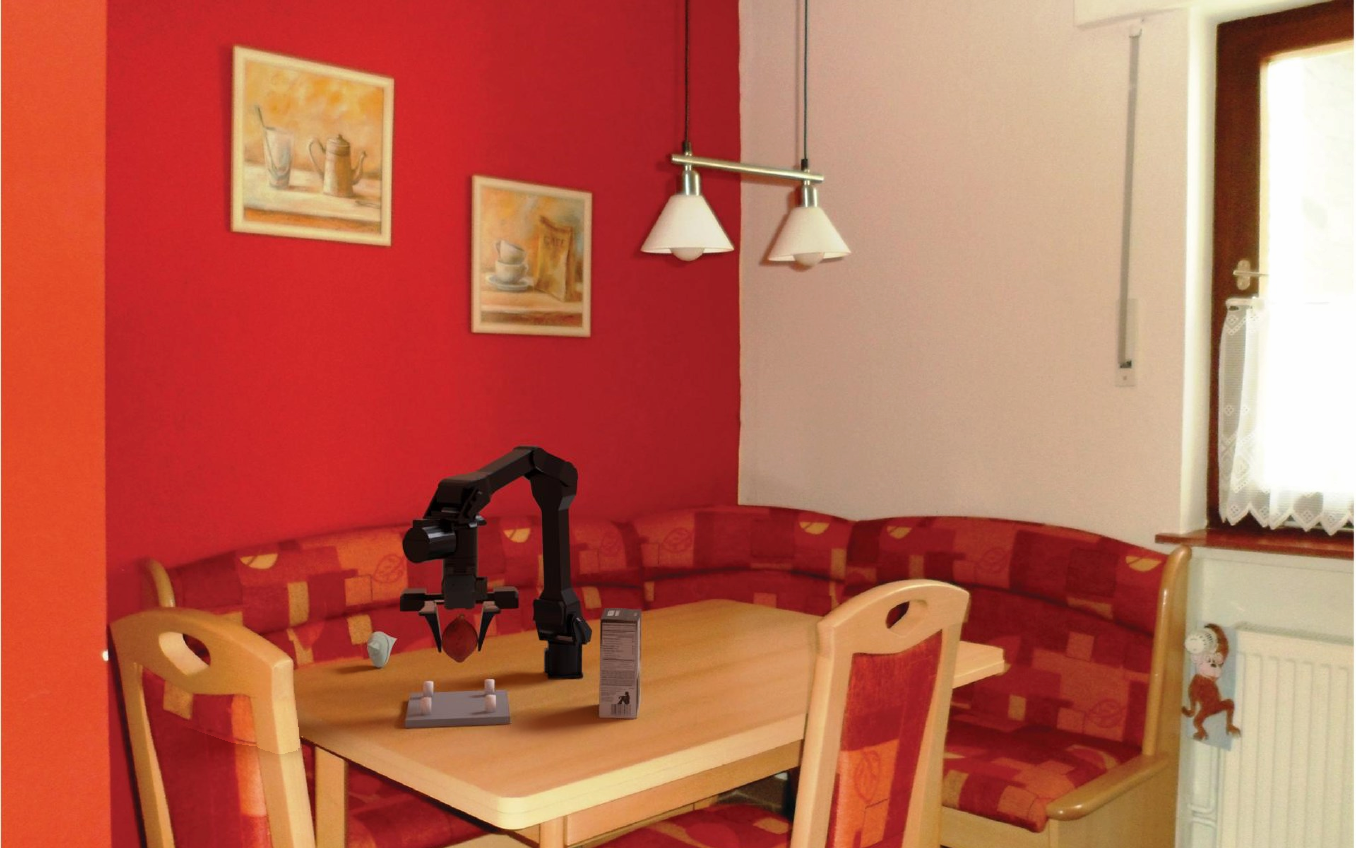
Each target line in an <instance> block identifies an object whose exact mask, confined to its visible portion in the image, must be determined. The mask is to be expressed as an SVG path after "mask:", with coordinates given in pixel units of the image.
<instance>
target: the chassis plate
mask: <svg viewBox="0 0 1356 848" xmlns="http://www.w3.org/2000/svg"><path fill="white" fill-rule="evenodd" d="M422 689H423V691H422V692H411V693H410V694H409V700H408V703H407V704H408V705H407V709H406V716H405V722H404V723H405V724H404V725H405V727H404V728H405V729H411V728H413V729H417V728H437V727H439V728H441V727H463V726H466V727H467V726H485V725H487V726H489V725H490V726H491V725H493V726H494V725H511V711H510V704H509V703H510V702H509V696H508V690H507V689H496V690H495V679H493V678H488V679H484V690H469V691H468V690H462V691H461V690H460V691H438V692H437V691H434V681H432V680H426V681H423V688H422Z"/></svg>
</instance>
